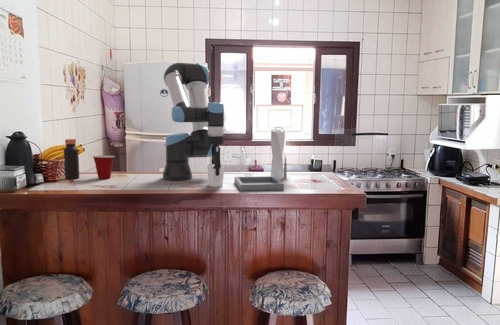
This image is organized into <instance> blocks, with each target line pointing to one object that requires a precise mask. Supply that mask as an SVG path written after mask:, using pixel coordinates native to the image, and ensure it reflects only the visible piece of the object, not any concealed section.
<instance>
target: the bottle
mask: <svg viewBox="0 0 500 325" xmlns="http://www.w3.org/2000/svg"><path fill="white" fill-rule="evenodd" d="M76 142H77V140H76V139H75V138H66V139H64V143H65V148H63V160H64V159H65V161H63V163H64V164H63V167H64V178H65V180H78V179H80V162H79V160H80V159H79V149H78V147H77V146H76V144H77V143H76Z"/></svg>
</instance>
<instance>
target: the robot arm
mask: <svg viewBox="0 0 500 325" xmlns="http://www.w3.org/2000/svg"><path fill="white" fill-rule="evenodd" d="M209 74H210V73H209V69H208V67H207V66H206V65H205V64H204V63H203V64H202V63H198V62H196V63H192V62H191V63H190V62H176V63H175V62H174V63H172V64H170V65H169V66H168V67H167V69H165V71H164V73H163V82H164V85H165V86H166V87H167V88H168V91H169V95H170V99H171V101H172V105H173V106H172V108H171V120H172V121H173V122H174V123H180V124H181V123H191V125H192V131H191V132H190V134H189V133H188V132H178V133H172V134H169V135H167V136H166V137H165V143H164V144H165V166H164V169H163V172H162V179H163V180H167V181H187V180H190V179H192V178H193V173H192V169H191V167H190V163H189V158H192V159H193V158H195V159H196V158H210V157H211V160H210V162H211V164H214V165H215V167H213V169H214V183H219V182H220V168H221V164H222V163H221V147H220V145H223V144H224V142H225V140H224V139H225V138H224V135H225V134H224V133H225V132H224V131H226V128H224V125H225V122H224V121H225V114H224V112H225V106H224V103H223V102H208V103H207V102H206V94H205V89H206V88H207V85H208V84H209V82H210V75H209ZM183 85H185V88H184V86H183ZM185 89H186V90H187V91H188V97H189V100H188V98H187V94H186V91H185Z"/></svg>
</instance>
